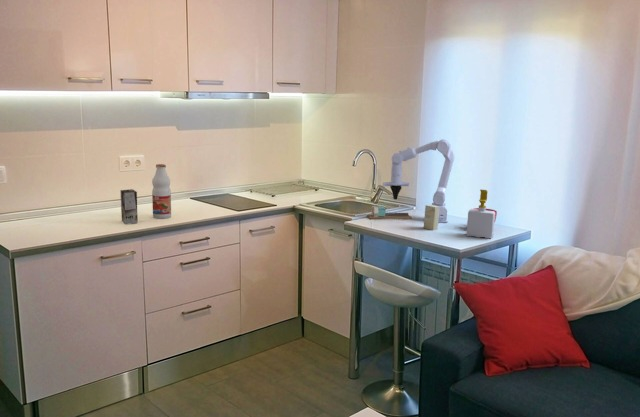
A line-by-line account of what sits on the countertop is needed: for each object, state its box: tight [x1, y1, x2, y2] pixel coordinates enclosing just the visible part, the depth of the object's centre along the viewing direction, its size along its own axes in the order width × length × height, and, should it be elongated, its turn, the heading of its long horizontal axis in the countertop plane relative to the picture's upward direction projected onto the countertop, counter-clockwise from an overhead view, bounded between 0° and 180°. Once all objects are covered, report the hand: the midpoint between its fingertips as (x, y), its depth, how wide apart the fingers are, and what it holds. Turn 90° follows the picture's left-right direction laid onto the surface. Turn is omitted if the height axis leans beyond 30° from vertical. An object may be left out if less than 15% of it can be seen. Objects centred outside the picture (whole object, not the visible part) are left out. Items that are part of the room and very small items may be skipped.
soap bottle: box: [465, 189, 496, 239], centre depth 286 cm, size 12×7×23 cm, turn 66°
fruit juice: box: [151, 163, 172, 220], centre depth 307 cm, size 9×9×28 cm
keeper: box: [375, 205, 387, 216], centre depth 324 cm, size 5×4×5 cm
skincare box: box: [423, 204, 440, 231], centre depth 300 cm, size 6×4×12 cm
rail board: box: [366, 205, 413, 220], centre depth 325 cm, size 9×24×6 cm, turn 100°
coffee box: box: [120, 188, 139, 225], centre depth 295 cm, size 9×6×16 cm
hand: (395, 199), depth 325 cm, fingers closed
